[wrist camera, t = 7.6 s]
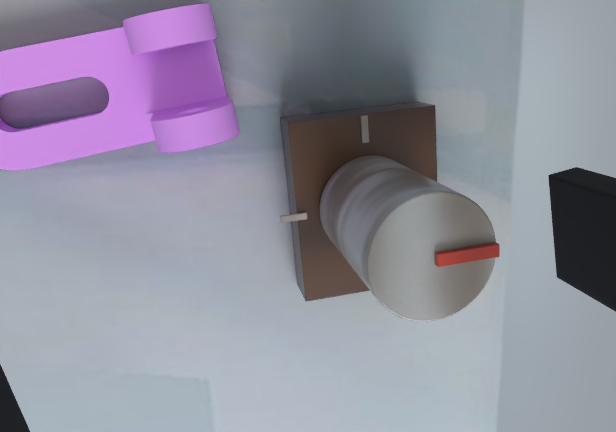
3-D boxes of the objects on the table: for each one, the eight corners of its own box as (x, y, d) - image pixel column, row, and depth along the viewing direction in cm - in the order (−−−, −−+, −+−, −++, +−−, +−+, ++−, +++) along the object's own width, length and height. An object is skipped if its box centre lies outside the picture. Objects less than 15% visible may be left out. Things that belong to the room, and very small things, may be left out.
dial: (323, 262, 32) (373, 336, 23) (314, 162, 30) (365, 203, 22) (419, 246, 32) (500, 312, 24) (415, 148, 31) (501, 183, 23)
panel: (263, 119, 31) (270, 125, 29) (432, 99, 33) (452, 103, 30) (282, 287, 34) (290, 305, 32) (436, 261, 36) (455, 277, 33)
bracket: (205, 12, 29) (212, 0, 23) (231, 119, 31) (244, 137, 24) (-63, 65, 27) (-140, 68, 21) (-20, 176, 29) (-78, 212, 23)
